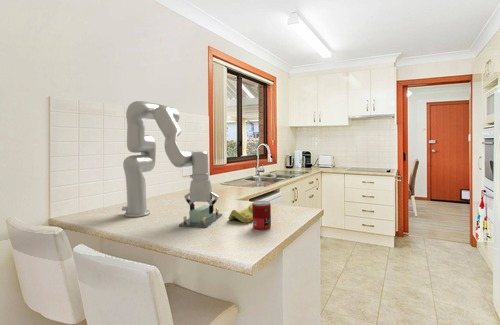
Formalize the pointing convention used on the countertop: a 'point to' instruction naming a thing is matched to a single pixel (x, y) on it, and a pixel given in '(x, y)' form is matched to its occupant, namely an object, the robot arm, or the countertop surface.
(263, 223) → the canned food
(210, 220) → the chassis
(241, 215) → the plastic component
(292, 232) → the countertop surface
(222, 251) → the countertop surface
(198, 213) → the board block
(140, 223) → the countertop surface
